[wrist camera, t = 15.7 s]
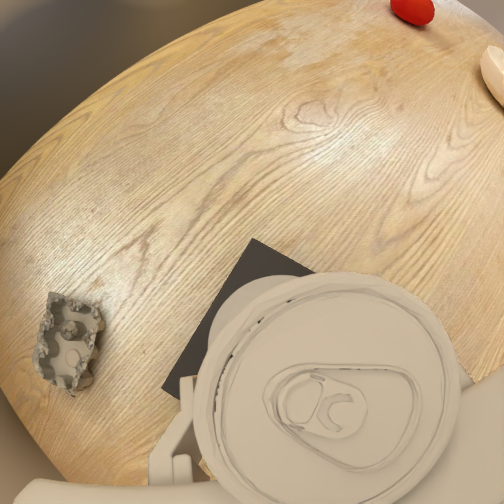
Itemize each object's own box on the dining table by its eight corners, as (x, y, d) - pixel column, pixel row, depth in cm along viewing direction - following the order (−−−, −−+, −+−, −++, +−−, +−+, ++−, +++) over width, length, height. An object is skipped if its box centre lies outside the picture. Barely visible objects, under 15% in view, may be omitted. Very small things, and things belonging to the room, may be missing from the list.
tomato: (403, 6, 53) (413, -21, 44) (435, 33, 50) (449, 5, 41) (374, 5, 52) (383, -26, 42) (408, 32, 49) (422, 0, 39)
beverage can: (326, 389, 19) (476, 464, 4) (244, 411, 18) (235, 557, 4) (306, 310, 20) (431, 234, 6) (223, 330, 20) (156, 303, 5)
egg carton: (91, 397, 29) (73, 403, 25) (44, 370, 29) (24, 372, 25) (113, 313, 32) (97, 309, 28) (64, 291, 32) (46, 285, 28)
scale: (296, 454, 28) (301, 466, 24) (166, 385, 30) (157, 389, 26) (375, 314, 32) (388, 311, 29) (252, 244, 34) (252, 234, 31)
